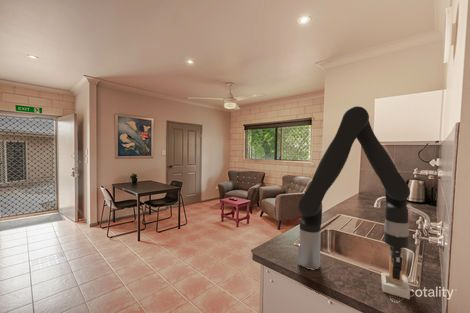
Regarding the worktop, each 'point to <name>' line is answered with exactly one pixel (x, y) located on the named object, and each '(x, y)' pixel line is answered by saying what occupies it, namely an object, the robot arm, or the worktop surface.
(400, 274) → the orange capsule
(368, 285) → the worktop surface
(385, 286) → the housing
